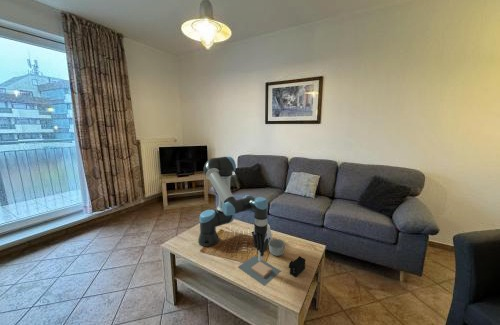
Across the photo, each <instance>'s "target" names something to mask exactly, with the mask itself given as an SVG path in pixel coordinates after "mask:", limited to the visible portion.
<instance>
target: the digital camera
mask: <svg viewBox="0 0 500 325" xmlns="http://www.w3.org/2000/svg"><path fill="white" fill-rule="evenodd" d="M288 268H289V274H290V276H293V277H294V278H297V277H298V276H299V275H300V274H302V272H303V271H304V270H305V269H306V258H305V257H302V256H300V255H299V256H298V257H297V258H296V259H295V260H290V261H289V263H288Z"/></svg>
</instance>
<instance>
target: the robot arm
mask: <svg viewBox="0 0 500 325" xmlns="http://www.w3.org/2000/svg"><path fill="white" fill-rule="evenodd" d="M236 165H237V164H236V161H235V160H234V158H233V157H232V156H220V157H212V158H211V157H210V159H208V160H207V161H206V162H205V163H204V166H203V174H204V176H205V177H206V179H207V180H209V181H210V183H211V185H212V186H213V188H214V191H215V192H216V193H217V195H218V206H216V210H214V209H207V210H206V209H205V210H204V211H202V212H201V213H200V214H199V220H198V221H199V231H200V232H199V235H198V240H197V241H198V244H199V245H200V246H202V247H205V246H207V247H212V245H213V246H214V245H216V244H217V243H218V242H219V236H218V233H217V229H216V228H218V227H221V226H223V225H227V224H228V225H229V224H230V223H233V221H234V220H235V215H237V214H239V213H240V214H241V213H243V212H247V211H252V212H253V213H254V226H253V228H254V230H253V231H252V232H251V235H252V240H253V244H254V248H255V249H256V250H257V252H256V253H257V257H258V261H261V260H263V259H264V258H263V257H264V255H265V254H264V253H265V252H266V251H267V250H268V247H269V244H268V242H269V240H270V238H268V237H267V233H266V232H267V223H268V208H269V205H268V199H267V198H266V197H262V196H258V197H254V196H252V195H249V194H245V195H244V196H243V197H242V198H238V199H236V198H235V196H234V195H233V193H232V191H231V178H232V176H233V174H234V172H236V169H237V167H236ZM264 240H265V242H264ZM263 261H264V260H263Z"/></svg>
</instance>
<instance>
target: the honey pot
mask: <svg viewBox="0 0 500 325" xmlns="http://www.w3.org/2000/svg"><path fill="white" fill-rule="evenodd" d="M266 233H267V237H268V238H270V240H269V241H271V240H273V233H272V230H271V226H270V224H269V223H268V222H267V232H266ZM264 242H265V240H264ZM268 245H269V242H268Z"/></svg>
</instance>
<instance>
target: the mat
mask: <svg viewBox="0 0 500 325" xmlns="http://www.w3.org/2000/svg"><path fill="white" fill-rule="evenodd" d="M258 262H262V263H263V264H265V265H267V266H268V267H270V268H272V272H270V273H269V274H268V275H267V276H266V277H264V278H263V277H261V276H260V275H258V274H257V273H255V272H254V271H252V270H251V267H253V266H254V265H255V264H257V263H258ZM237 268H238V269H239V270H241V271H242V272H243V273H245V274H247V275H248V276H250V277H251V278H253V279H254V280H255V281H256V282H258V283H259V284H260V285H262V286H267V284H268V283H270V282H271V281H272V280H273V279H275V278H276V276H278V275H279V274H280V273H281V272H282V270H280V269H278V268H277V267H275V266H273V265H271V264H270V263H268V262H266V261H265V260H261V261H258V256H256V255H253V256H251V257H250V258H249V259H247V260H246V261H245V262H243V263H242V264H240V265H238V266H237Z"/></svg>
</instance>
